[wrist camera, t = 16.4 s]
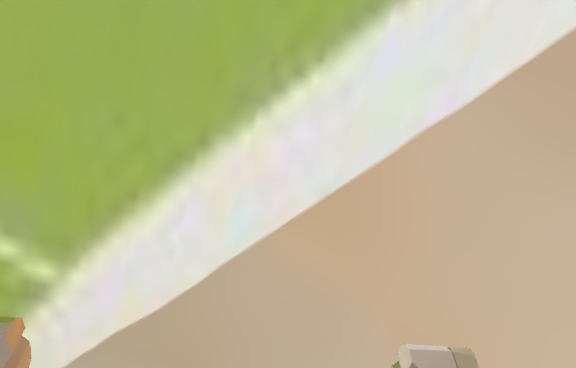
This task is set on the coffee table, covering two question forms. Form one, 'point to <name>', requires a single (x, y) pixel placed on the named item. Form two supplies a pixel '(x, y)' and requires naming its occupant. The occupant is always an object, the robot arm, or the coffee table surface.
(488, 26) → the coffee table surface
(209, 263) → the coffee table surface
